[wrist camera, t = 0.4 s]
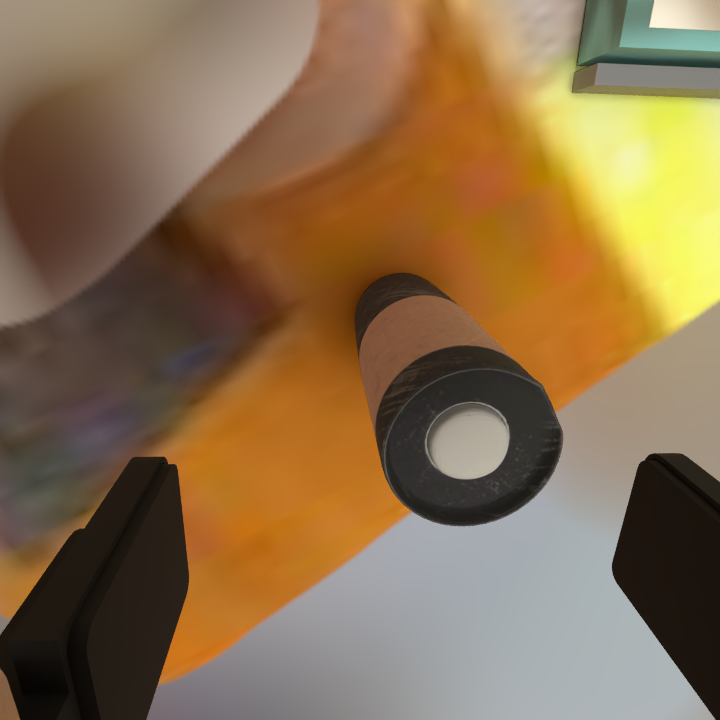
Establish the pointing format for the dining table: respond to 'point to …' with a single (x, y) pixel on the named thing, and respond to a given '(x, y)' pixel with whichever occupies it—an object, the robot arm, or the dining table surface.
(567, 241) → the dining table surface
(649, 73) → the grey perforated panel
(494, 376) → the travel mug
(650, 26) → the teal rectangular box
